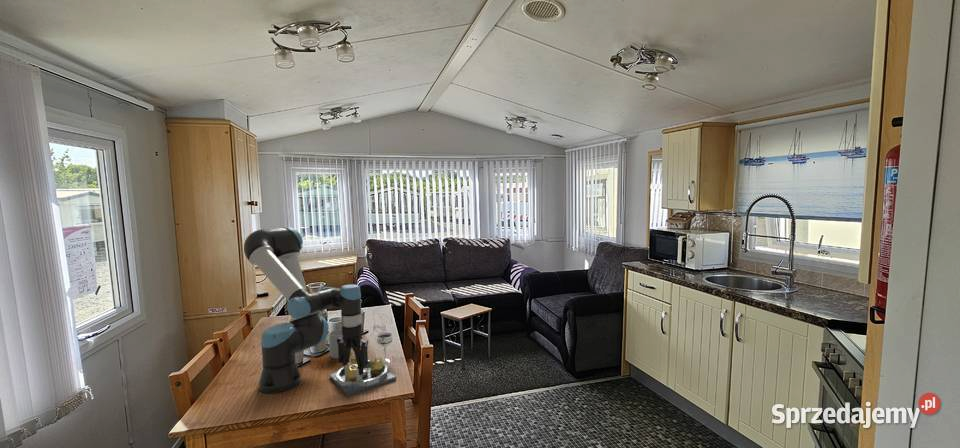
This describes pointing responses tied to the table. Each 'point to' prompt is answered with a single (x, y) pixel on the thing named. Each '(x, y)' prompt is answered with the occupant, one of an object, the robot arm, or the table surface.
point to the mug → (334, 342)
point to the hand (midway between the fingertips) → (353, 380)
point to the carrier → (364, 377)
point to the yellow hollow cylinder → (351, 373)
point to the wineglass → (384, 343)
